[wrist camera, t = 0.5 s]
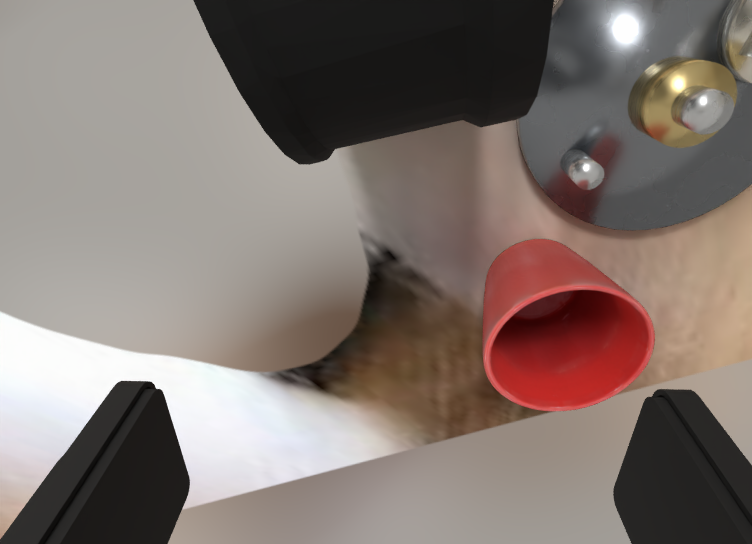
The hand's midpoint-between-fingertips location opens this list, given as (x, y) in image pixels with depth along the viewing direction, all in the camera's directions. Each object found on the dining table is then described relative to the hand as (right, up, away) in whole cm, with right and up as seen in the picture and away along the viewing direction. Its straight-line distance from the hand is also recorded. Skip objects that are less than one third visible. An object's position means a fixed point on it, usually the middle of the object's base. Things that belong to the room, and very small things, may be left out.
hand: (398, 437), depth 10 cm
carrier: (+19, +15, +23) cm, 33 cm away
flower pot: (+13, +3, +31) cm, 33 cm away
